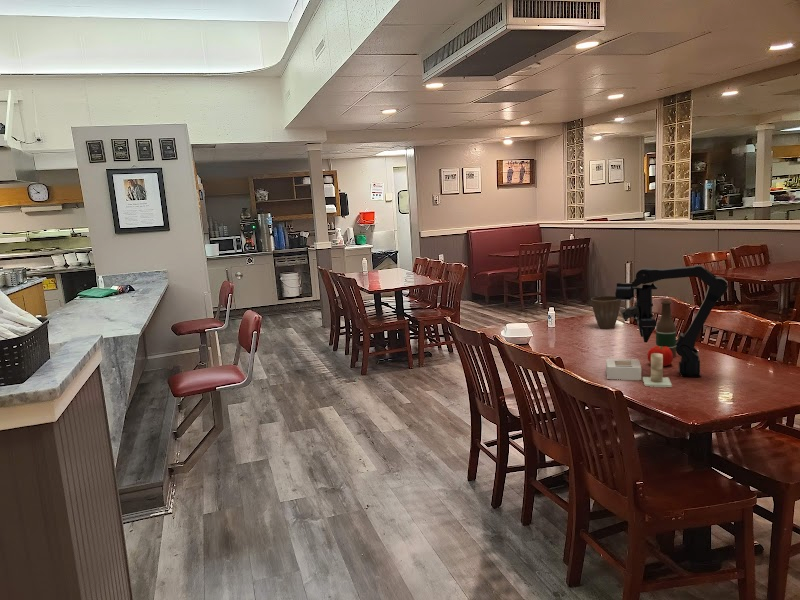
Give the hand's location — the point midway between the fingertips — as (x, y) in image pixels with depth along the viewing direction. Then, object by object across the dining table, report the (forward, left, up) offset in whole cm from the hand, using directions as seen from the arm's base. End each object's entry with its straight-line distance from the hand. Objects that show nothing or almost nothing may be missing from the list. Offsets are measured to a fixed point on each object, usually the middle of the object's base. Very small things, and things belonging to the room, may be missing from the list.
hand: (643, 339), depth 222 cm
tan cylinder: (-3, +15, -12) cm, 19 cm away
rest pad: (-3, +15, -13) cm, 20 cm away
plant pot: (+11, -80, -13) cm, 82 cm away
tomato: (-7, -10, -13) cm, 18 cm away
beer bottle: (-11, -24, -13) cm, 30 cm away
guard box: (+8, +6, -13) cm, 16 cm away
